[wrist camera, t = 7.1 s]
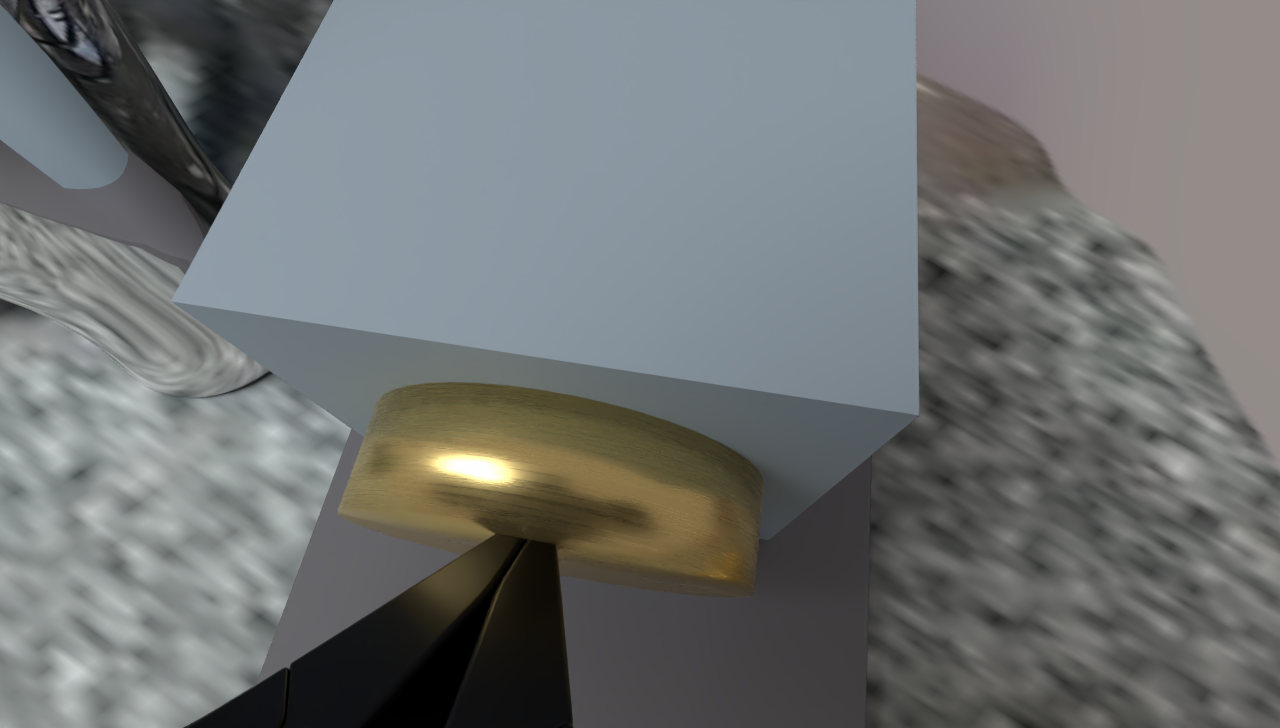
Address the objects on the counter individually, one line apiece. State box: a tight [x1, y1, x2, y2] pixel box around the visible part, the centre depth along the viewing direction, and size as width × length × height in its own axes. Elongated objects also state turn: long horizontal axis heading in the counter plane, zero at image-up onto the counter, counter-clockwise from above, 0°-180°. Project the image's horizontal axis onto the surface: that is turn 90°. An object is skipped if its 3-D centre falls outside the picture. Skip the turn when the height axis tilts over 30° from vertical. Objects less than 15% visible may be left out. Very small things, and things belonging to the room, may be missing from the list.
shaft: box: [337, 382, 764, 597], centre depth 14 cm, size 15×7×7 cm, turn 170°
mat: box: [256, 429, 872, 728], centre depth 14 cm, size 24×14×1 cm, turn 170°
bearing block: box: [171, 0, 919, 540], centre depth 13 cm, size 7×9×10 cm
